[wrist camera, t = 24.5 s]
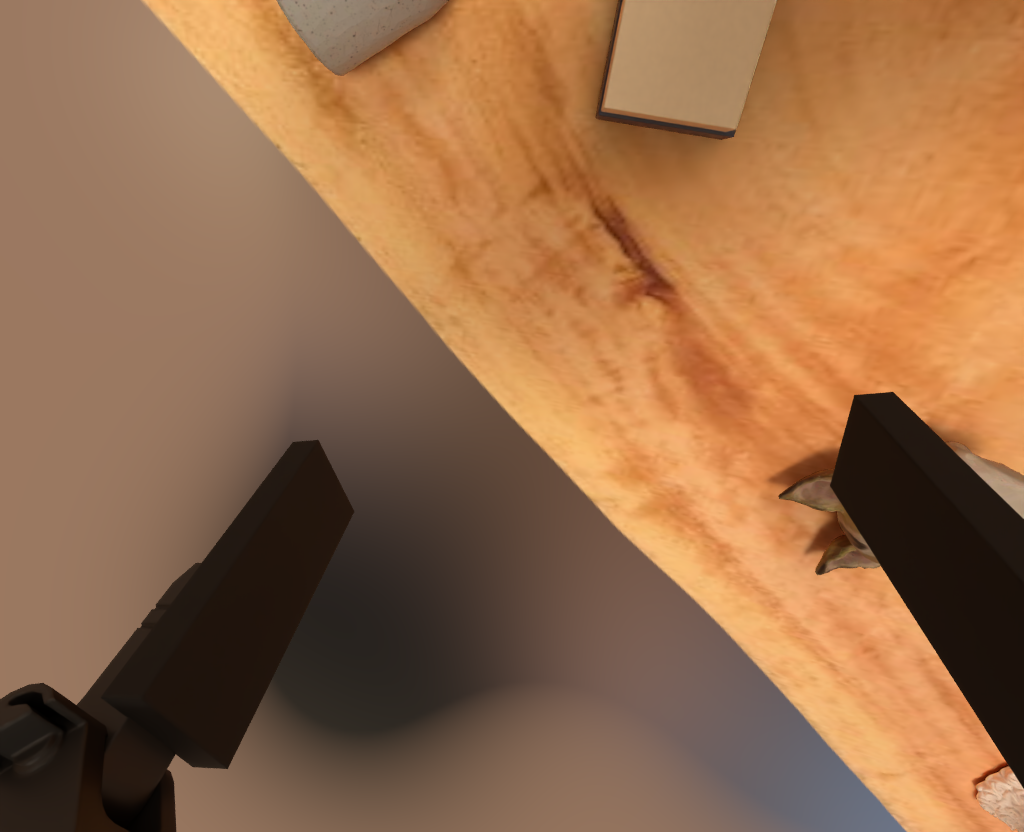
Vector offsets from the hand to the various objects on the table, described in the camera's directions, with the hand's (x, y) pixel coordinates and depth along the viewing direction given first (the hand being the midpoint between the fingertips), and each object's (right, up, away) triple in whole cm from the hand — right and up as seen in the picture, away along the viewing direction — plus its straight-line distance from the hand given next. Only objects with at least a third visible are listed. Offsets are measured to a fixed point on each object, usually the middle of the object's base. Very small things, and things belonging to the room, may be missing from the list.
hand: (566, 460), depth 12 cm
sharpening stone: (+8, +24, +15) cm, 29 cm away
